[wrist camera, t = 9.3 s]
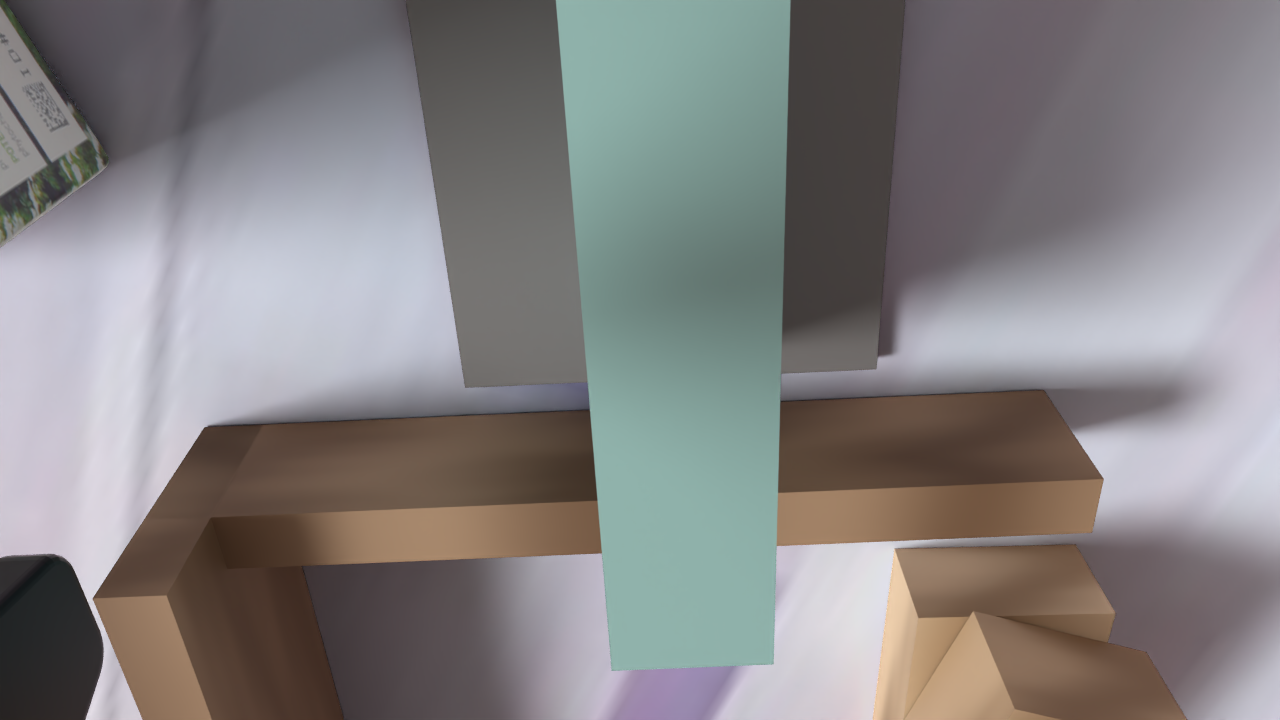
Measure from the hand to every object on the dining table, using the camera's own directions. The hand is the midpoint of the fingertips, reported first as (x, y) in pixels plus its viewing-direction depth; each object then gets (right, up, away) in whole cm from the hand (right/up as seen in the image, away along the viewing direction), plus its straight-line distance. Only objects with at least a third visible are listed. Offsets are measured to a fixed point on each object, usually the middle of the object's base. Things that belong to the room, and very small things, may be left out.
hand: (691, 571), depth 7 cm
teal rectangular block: (0, +6, +10) cm, 11 cm away
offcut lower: (+7, -5, +17) cm, 20 cm away
